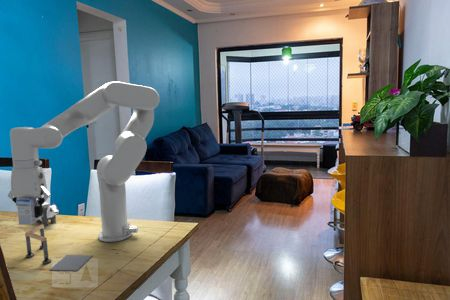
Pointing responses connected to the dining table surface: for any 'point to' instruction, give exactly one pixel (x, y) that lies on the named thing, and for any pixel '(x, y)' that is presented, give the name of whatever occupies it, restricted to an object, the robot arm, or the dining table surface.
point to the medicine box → (26, 211)
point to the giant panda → (48, 214)
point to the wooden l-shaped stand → (38, 237)
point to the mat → (71, 263)
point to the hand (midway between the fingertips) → (31, 215)
